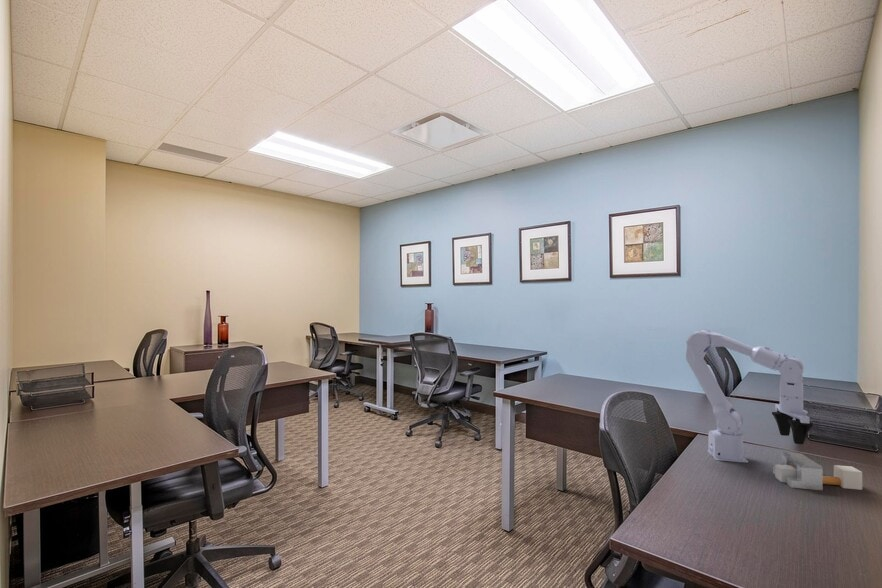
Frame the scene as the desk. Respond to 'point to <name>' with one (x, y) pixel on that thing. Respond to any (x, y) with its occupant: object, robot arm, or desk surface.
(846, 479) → the plug
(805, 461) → the housing
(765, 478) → the desk surface
